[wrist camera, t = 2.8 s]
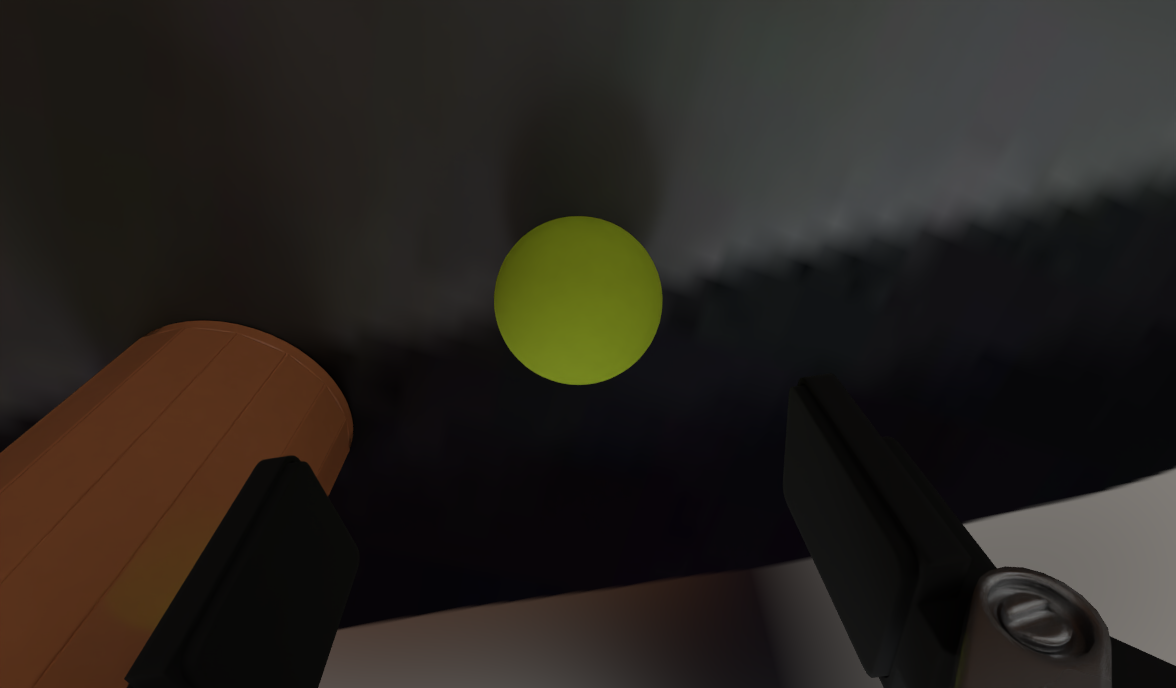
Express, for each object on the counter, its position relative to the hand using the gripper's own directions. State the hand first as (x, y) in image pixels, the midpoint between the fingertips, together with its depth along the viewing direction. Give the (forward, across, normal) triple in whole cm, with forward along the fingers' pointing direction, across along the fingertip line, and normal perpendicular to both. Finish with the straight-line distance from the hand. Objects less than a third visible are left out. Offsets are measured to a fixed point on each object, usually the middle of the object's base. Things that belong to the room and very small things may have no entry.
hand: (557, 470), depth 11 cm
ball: (+7, -1, 0) cm, 7 cm away
